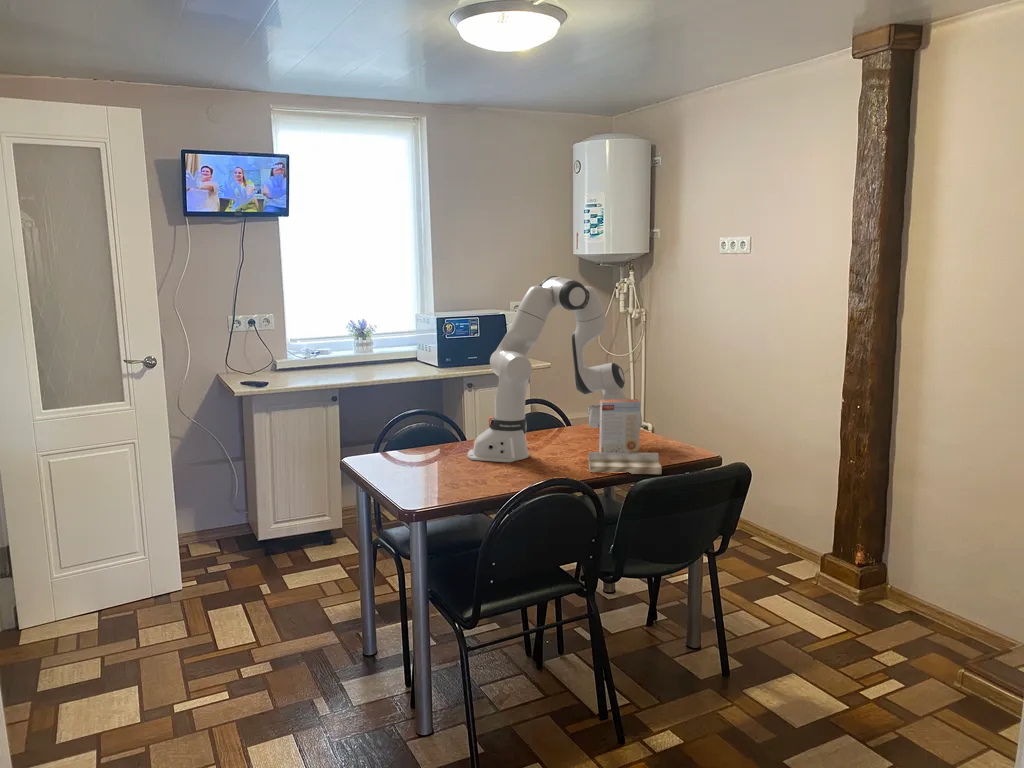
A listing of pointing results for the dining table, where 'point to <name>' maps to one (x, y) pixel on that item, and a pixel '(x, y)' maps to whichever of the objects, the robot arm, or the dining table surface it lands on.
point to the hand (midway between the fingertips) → (616, 436)
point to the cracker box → (619, 425)
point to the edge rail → (623, 456)
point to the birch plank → (626, 467)
